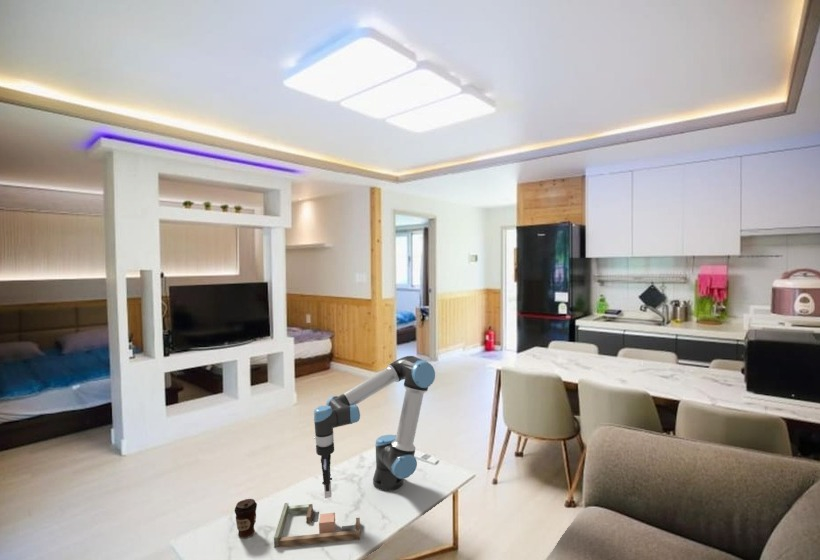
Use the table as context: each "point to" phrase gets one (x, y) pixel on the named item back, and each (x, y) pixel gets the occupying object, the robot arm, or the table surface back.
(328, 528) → the block
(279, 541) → the trap box
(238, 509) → the coffee cup
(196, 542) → the table surface
